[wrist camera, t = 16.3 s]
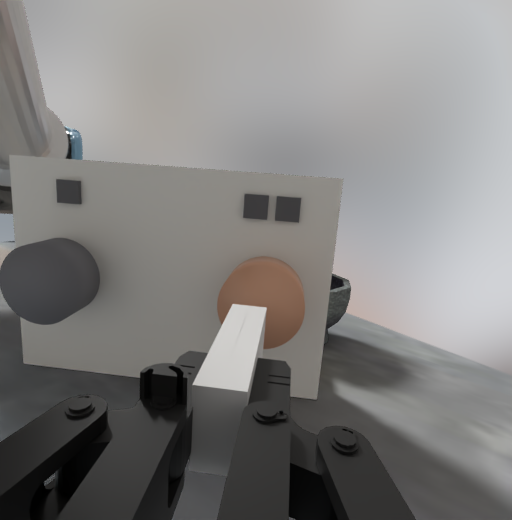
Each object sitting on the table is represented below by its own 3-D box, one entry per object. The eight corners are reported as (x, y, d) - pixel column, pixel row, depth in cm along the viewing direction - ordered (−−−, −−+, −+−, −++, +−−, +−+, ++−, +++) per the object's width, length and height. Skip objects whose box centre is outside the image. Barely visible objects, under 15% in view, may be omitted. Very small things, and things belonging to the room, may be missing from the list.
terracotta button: (300, 353, 26) (309, 269, 25) (215, 344, 26) (219, 261, 25) (299, 308, 35) (305, 245, 34) (236, 301, 36) (239, 239, 34)
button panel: (317, 402, 31) (344, 178, 27) (20, 365, 33) (5, 154, 29) (313, 360, 38) (333, 179, 34) (69, 332, 40) (62, 159, 36)
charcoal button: (79, 329, 27) (77, 248, 26) (2, 320, 28) (-4, 240, 26) (134, 291, 36) (134, 230, 35) (76, 285, 37) (74, 224, 36)
